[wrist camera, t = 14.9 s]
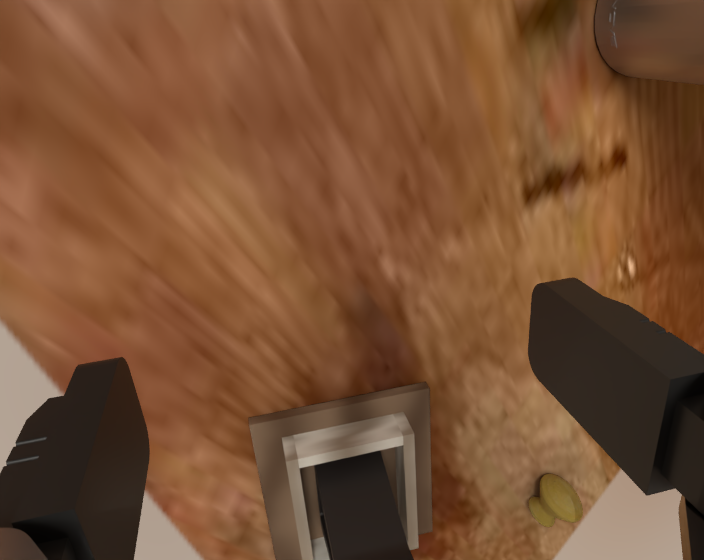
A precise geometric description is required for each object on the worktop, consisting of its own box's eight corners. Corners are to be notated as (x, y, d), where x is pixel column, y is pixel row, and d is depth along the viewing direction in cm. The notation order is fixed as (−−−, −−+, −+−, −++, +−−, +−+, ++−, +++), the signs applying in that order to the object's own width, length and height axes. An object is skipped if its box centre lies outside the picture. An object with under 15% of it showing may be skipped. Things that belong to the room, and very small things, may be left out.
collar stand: (425, 381, 50) (441, 408, 46) (429, 523, 57) (443, 555, 54) (248, 418, 47) (251, 449, 43) (276, 561, 55) (281, 598, 51)
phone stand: (312, 452, 49) (339, 570, 38) (377, 439, 50) (421, 550, 39) (320, 525, 53) (346, 650, 42) (380, 511, 54) (421, 630, 43)
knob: (536, 466, 58) (563, 502, 53) (572, 476, 60) (600, 511, 55) (513, 499, 59) (537, 537, 54) (548, 508, 61) (574, 545, 56)
